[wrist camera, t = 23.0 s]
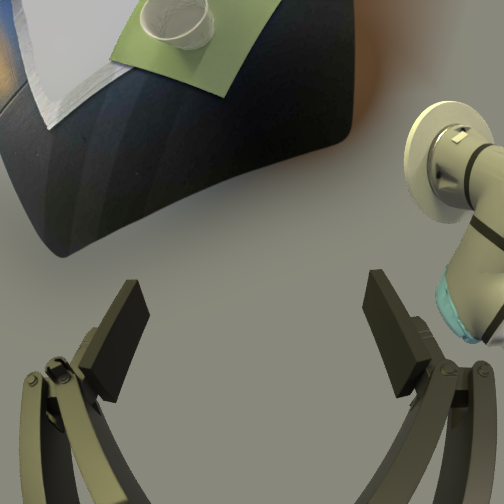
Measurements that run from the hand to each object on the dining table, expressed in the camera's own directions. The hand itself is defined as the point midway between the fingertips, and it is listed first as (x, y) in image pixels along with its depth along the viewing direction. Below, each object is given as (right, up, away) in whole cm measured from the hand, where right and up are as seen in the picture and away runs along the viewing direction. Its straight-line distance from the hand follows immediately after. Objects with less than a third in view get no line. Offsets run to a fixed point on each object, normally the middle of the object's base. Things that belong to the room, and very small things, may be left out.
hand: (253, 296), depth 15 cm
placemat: (-9, +35, +13) cm, 38 cm away
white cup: (-8, +34, +14) cm, 38 cm away
